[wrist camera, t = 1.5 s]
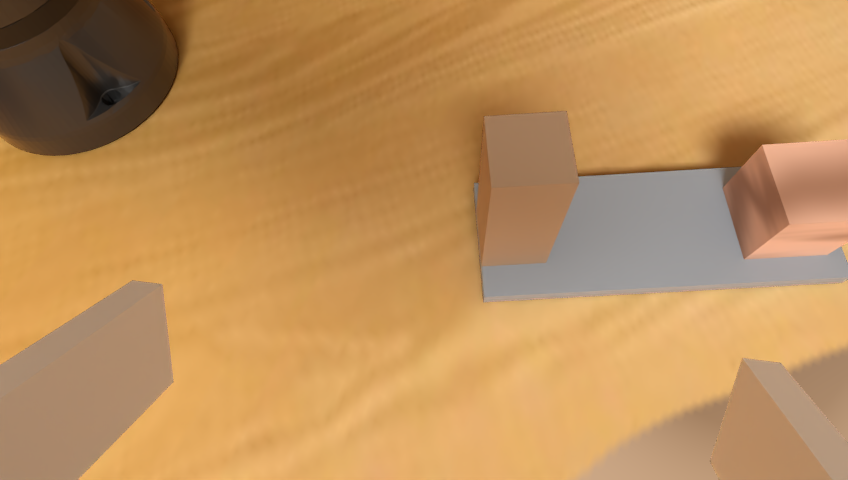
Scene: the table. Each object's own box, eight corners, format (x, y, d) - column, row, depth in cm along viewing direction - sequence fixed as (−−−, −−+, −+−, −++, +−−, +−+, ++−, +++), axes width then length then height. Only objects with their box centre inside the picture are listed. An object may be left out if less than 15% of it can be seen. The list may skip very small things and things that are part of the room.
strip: (473, 190, 38) (480, 83, 27) (800, 170, 37) (930, 53, 27) (483, 302, 34) (495, 227, 24) (842, 282, 34) (1007, 197, 24)
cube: (722, 188, 36) (762, 144, 31) (801, 183, 35) (852, 139, 31) (743, 259, 33) (789, 224, 29) (827, 254, 33) (886, 218, 29)
